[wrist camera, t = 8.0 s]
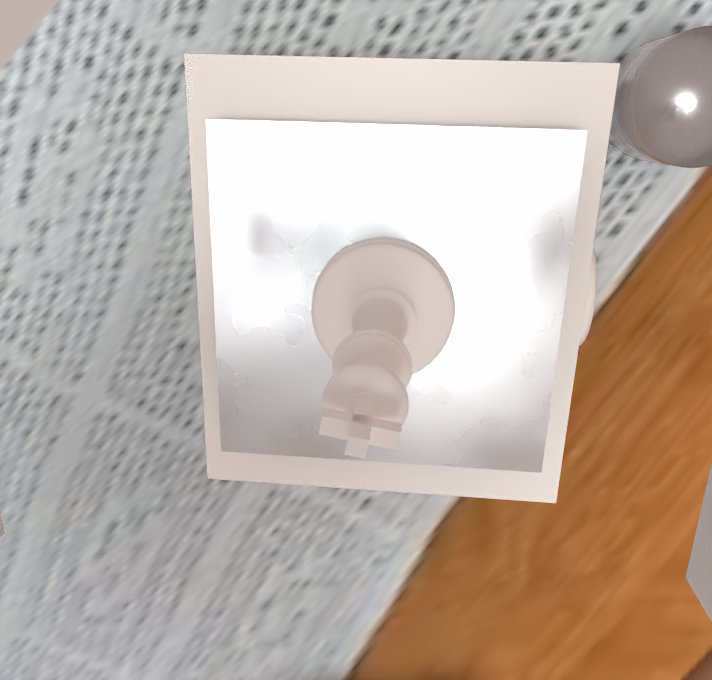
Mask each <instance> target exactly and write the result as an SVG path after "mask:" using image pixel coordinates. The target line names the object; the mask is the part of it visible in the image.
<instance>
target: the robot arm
mask: <svg viewBox="0 0 712 680" xmlns="http://www.w3.org/2000/svg"><path fill="white" fill-rule="evenodd" d="M3 534H4V531H3V525H2V519H1V513H0V537H1V536H2V535H3ZM686 580H687V581H688V583H689V585H690V586H691V588H692V590H693V591H694V593H695V595H696V596H697V598H698V599H699V601H700V603H701V604H702V606H703V608H704V609H705V611H706V613H707V614H708V616H709V618H710V619H711V621H712V464H711V469H710V473H709V478H708V482H707V486H706V491H705V495H704V500H703V504H702V508H701V513H700V517H699V522H698V526H697V531H696V535H695V539H694V544H693V548H692V553H691V557H690V562H689V566H688V570H687V575H686Z"/></svg>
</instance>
